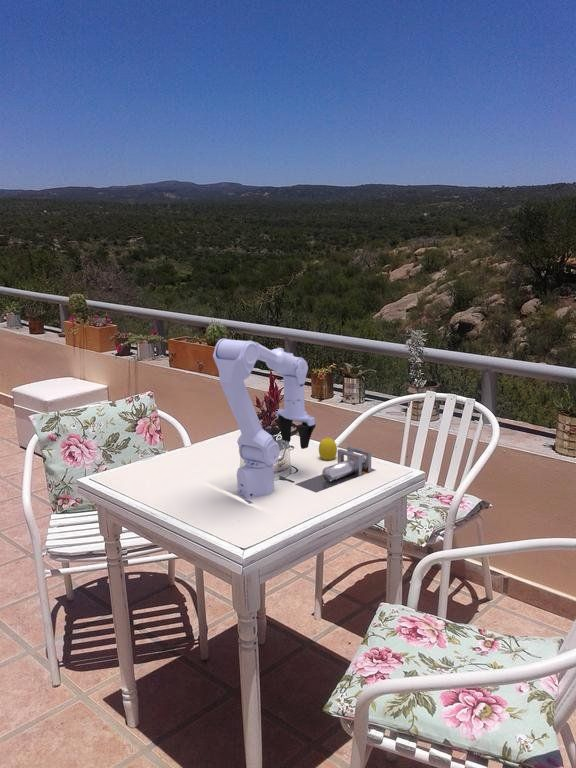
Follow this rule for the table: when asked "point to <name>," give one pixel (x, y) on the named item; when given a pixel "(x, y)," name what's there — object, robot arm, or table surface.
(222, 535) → the table surface
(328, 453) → the lemon
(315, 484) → the grey holder stand
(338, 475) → the tube
